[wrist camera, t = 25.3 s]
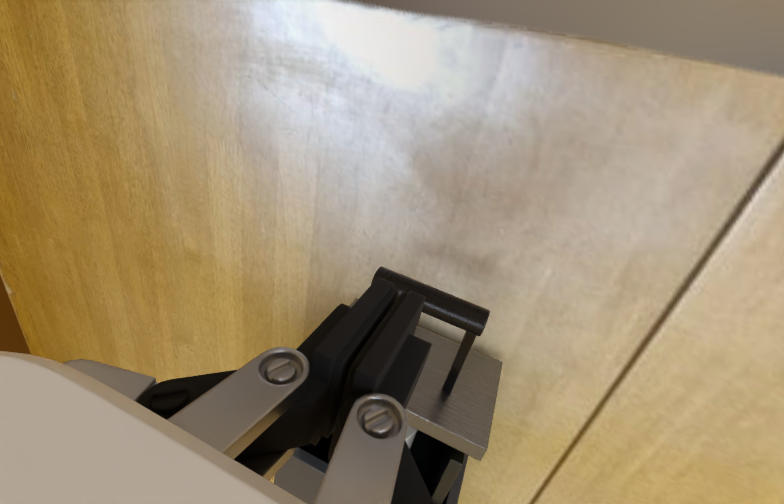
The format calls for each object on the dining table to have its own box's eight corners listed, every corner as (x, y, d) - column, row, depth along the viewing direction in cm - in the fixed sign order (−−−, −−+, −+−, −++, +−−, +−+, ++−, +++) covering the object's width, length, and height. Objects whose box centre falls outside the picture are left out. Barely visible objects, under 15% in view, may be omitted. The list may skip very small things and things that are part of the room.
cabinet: (339, 363, 36) (277, 447, 28) (474, 429, 33) (448, 544, 25) (319, 457, 44) (266, 543, 36) (428, 517, 41) (396, 626, 33)
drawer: (371, 225, 27) (314, 272, 21) (539, 289, 25) (534, 367, 18) (332, 410, 38) (285, 480, 31) (447, 470, 35) (422, 561, 29)
